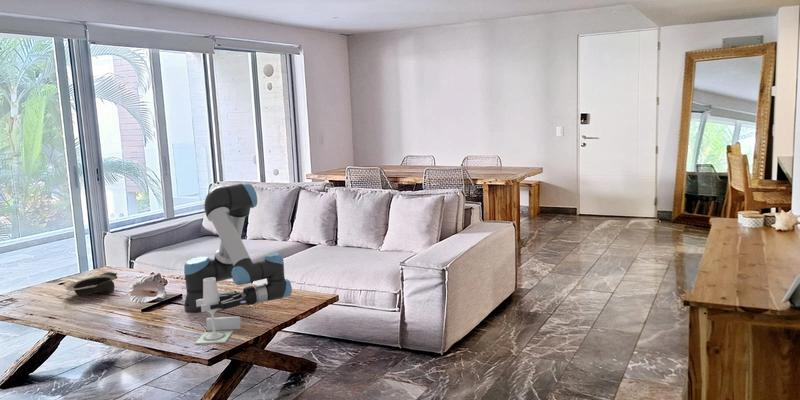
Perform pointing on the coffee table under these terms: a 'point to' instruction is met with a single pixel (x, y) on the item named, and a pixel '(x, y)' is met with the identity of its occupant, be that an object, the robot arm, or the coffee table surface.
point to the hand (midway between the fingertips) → (198, 306)
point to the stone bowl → (94, 284)
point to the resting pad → (212, 341)
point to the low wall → (224, 323)
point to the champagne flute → (210, 297)
